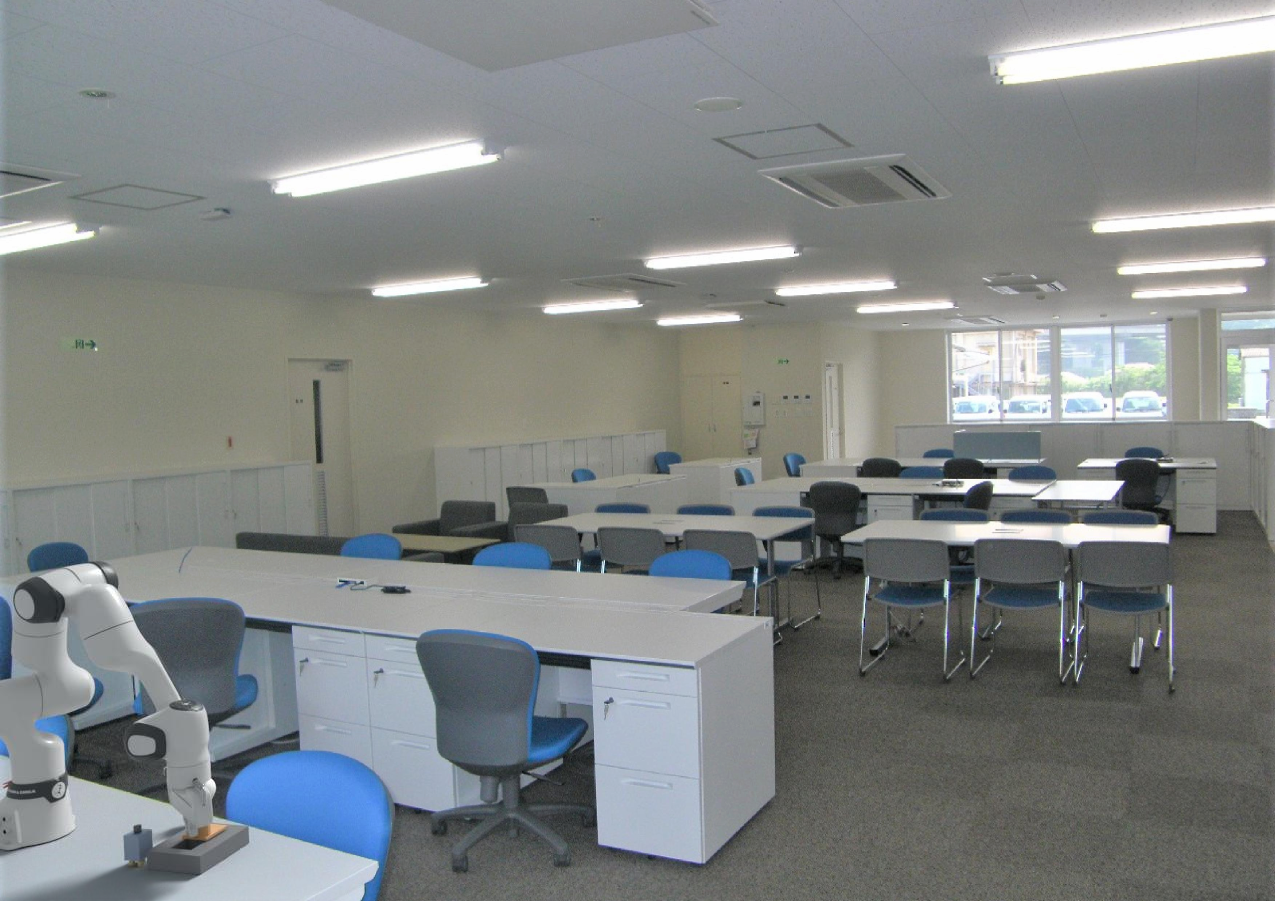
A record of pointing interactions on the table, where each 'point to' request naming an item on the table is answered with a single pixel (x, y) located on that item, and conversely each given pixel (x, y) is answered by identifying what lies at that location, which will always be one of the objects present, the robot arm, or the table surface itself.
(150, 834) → the plug
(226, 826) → the panel
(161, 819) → the table surface
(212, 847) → the socket block
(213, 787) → the lightbulb
